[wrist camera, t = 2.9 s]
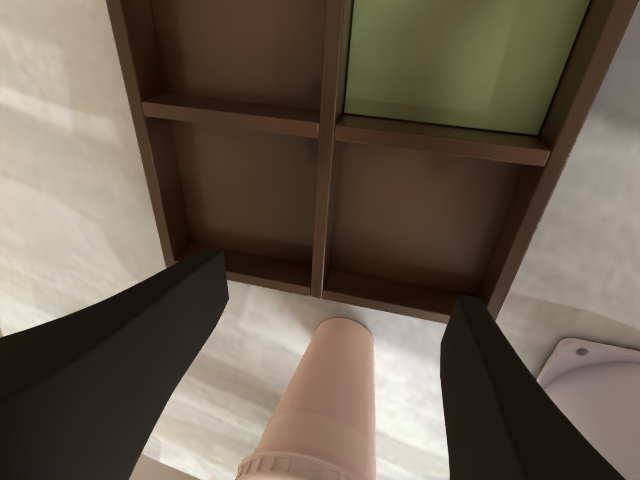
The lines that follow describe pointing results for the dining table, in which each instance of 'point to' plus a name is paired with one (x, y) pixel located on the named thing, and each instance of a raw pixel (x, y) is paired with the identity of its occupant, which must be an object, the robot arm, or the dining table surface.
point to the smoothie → (323, 413)
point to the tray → (361, 136)
